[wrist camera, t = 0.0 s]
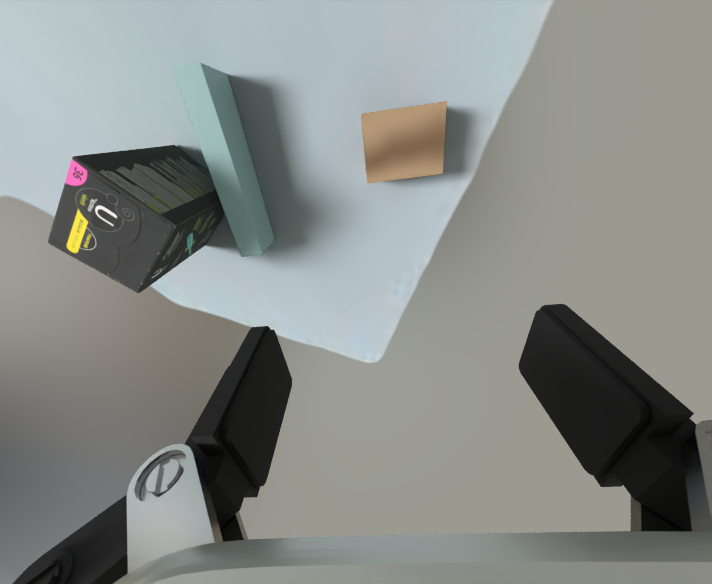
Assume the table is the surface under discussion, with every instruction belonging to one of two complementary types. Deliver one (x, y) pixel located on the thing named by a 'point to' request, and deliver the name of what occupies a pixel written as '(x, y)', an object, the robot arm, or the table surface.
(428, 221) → the table surface
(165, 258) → the tampon box
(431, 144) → the block
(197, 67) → the board
